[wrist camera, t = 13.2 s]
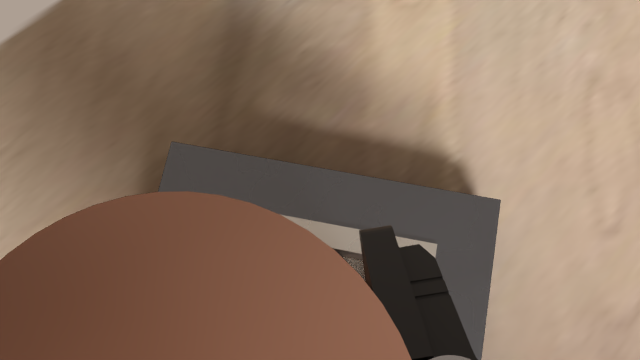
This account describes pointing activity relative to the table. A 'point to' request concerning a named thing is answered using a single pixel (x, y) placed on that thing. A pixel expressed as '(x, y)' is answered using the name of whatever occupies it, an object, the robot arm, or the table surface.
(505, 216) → the table surface
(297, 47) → the table surface
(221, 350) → the terracotta peg
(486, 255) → the grey peg board
